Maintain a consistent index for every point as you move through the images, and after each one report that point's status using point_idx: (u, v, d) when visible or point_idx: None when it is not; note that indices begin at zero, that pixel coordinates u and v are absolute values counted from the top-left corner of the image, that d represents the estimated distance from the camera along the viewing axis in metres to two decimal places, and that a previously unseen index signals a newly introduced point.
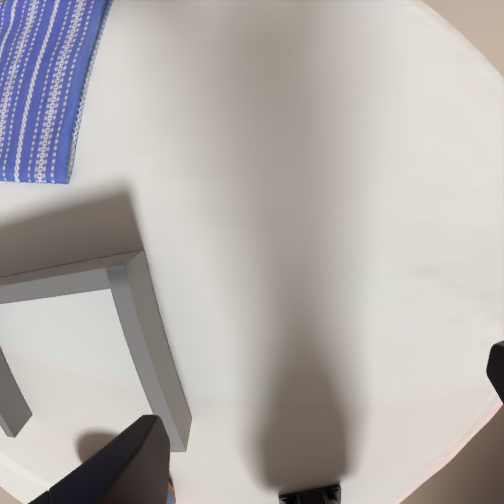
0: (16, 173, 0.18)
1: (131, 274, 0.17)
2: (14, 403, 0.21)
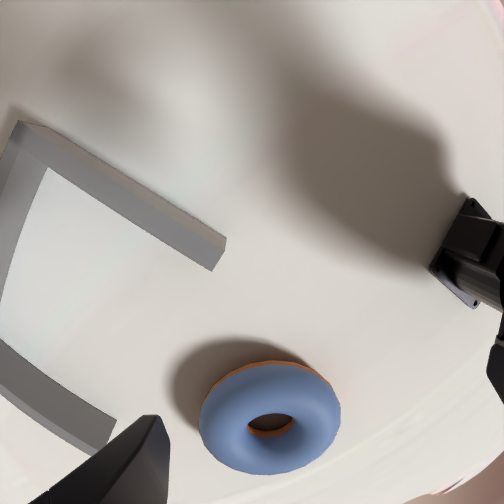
0: None
1: (31, 126, 0.14)
2: (84, 415, 0.20)
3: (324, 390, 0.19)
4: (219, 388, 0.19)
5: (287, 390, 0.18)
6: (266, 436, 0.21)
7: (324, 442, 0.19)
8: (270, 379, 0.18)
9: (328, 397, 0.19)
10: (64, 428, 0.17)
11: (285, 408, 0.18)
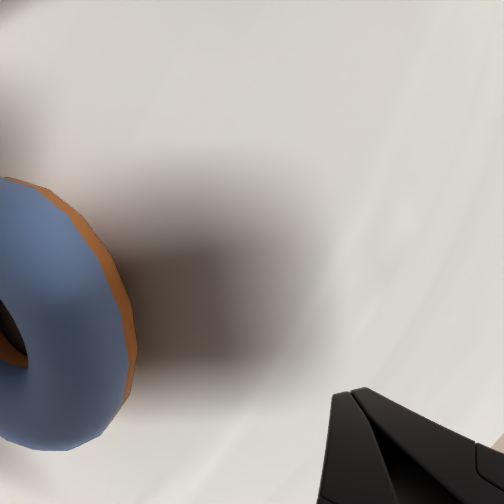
0: None
1: None
2: None
3: None
4: None
5: None
6: None
7: (47, 328, 0.07)
8: None
9: None
10: None
11: None
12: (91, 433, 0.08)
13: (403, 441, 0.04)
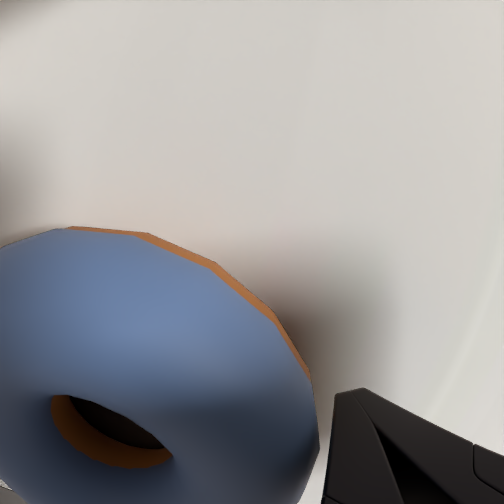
0: None
1: None
2: None
3: (60, 252, 0.05)
4: None
5: None
6: (158, 462, 0.07)
7: (242, 444, 0.05)
8: None
9: (82, 266, 0.04)
10: None
11: None
12: None
13: (400, 442, 0.04)
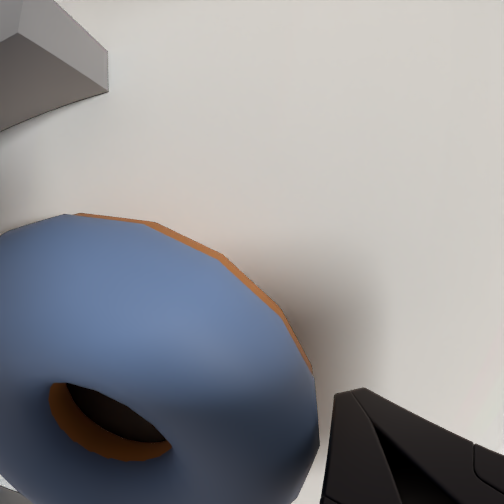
0: None
1: None
2: None
3: (68, 236, 0.05)
4: None
5: None
6: (155, 455, 0.07)
7: (245, 436, 0.05)
8: None
9: (92, 251, 0.04)
10: None
11: None
12: None
13: (401, 442, 0.04)
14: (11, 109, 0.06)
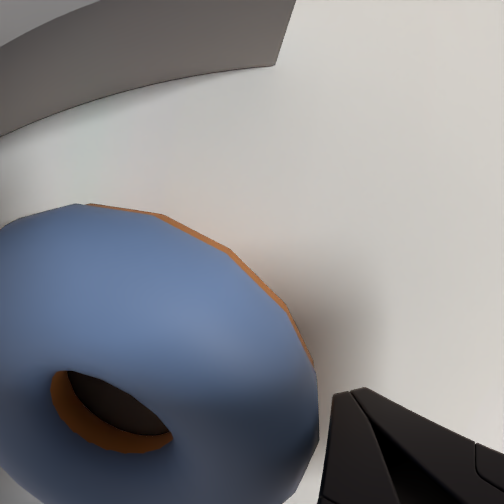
0: None
1: None
2: None
3: (81, 225, 0.05)
4: None
5: None
6: (154, 448, 0.07)
7: (249, 426, 0.05)
8: None
9: (104, 240, 0.05)
10: None
11: (1, 346, 0.04)
12: None
13: (402, 441, 0.04)
14: (168, 61, 0.06)
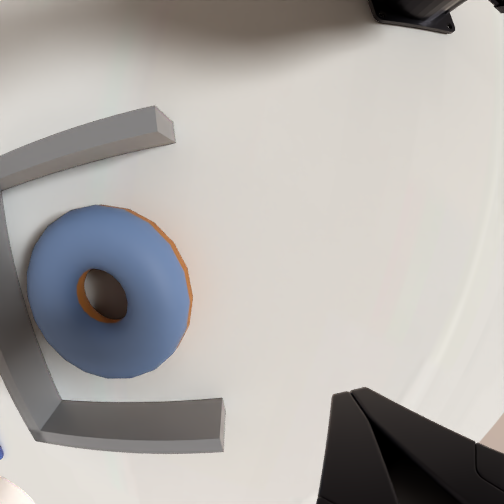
0: None
1: None
2: (183, 414, 0.18)
3: (98, 212, 0.14)
4: None
5: (54, 233, 0.14)
6: (121, 319, 0.17)
7: (148, 281, 0.14)
8: (43, 234, 0.14)
9: (106, 216, 0.14)
10: (166, 438, 0.16)
11: (64, 255, 0.14)
12: (168, 349, 0.16)
13: (403, 441, 0.04)
14: (129, 148, 0.15)
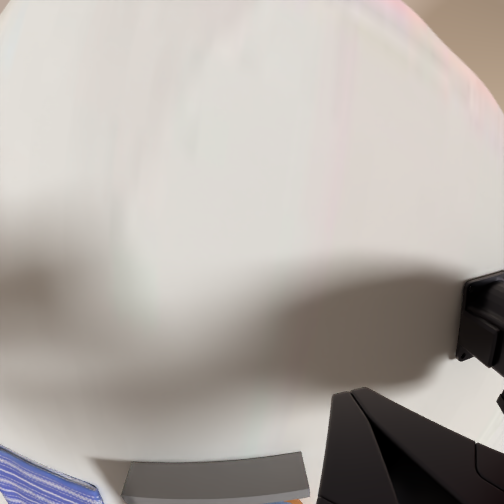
0: None
1: (131, 490, 0.18)
2: None
3: None
4: None
5: None
6: None
7: None
8: None
9: None
10: None
11: None
12: None
13: (403, 441, 0.04)
14: None
